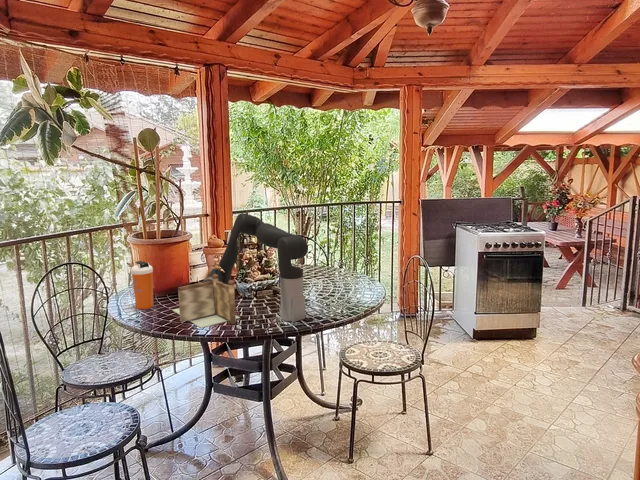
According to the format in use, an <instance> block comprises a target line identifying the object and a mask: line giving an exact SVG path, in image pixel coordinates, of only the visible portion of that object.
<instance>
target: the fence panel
mask: <svg viewBox="0 0 640 480" xmlns="http://www.w3.org/2000/svg"><path fill="white" fill-rule="evenodd" d="M177 292H178V293H177V295H178V306H179V307H178V308H179V311H180V315H179V321H180V323H182V322H186V321H187V322H188V320H191V319H195V318H200V317H204V316H208V315H212V314H214V296H213V282H212V281H209V282H204V283H201V282H200V283H199V282H198V283H193V284H189V285H184V286H179V287H177Z"/></svg>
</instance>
